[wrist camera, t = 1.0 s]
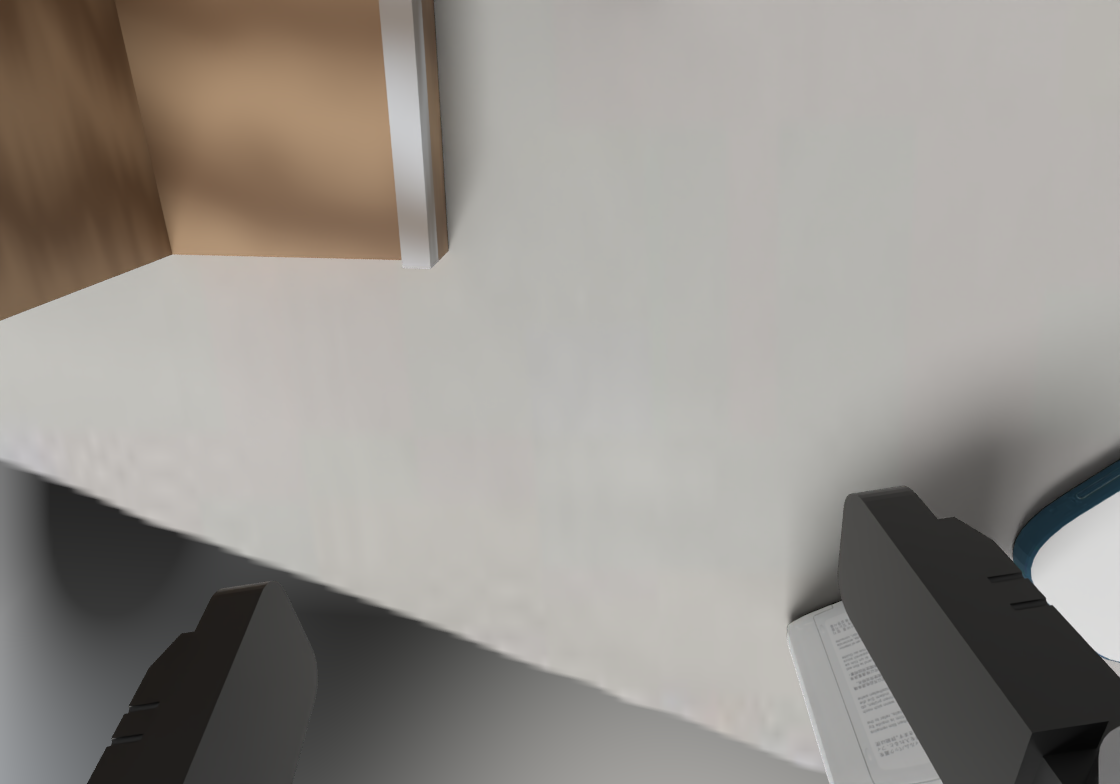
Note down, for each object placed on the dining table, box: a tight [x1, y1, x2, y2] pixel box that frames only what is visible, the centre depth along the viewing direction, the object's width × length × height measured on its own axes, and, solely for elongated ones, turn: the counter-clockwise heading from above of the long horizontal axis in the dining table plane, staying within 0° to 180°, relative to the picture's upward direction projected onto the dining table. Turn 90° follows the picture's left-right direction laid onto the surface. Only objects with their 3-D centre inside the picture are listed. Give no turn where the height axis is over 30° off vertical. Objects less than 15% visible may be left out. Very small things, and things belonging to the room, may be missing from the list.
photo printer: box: [787, 601, 943, 784], centre depth 33 cm, size 10×4×12 cm, turn 122°
